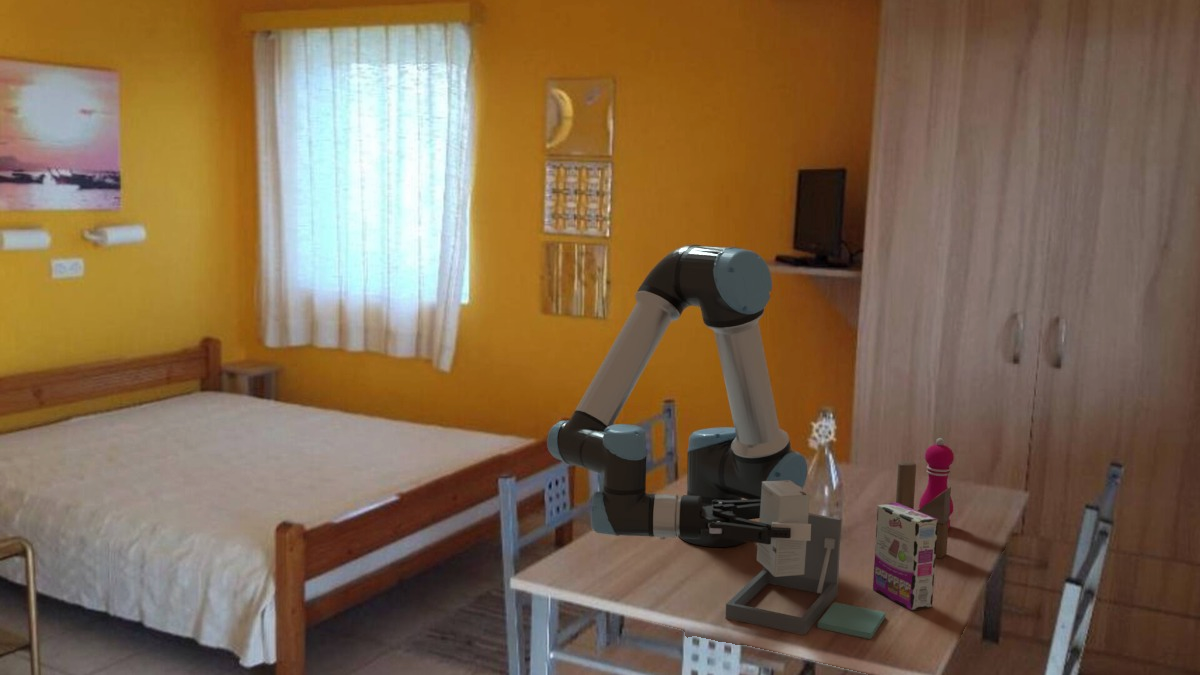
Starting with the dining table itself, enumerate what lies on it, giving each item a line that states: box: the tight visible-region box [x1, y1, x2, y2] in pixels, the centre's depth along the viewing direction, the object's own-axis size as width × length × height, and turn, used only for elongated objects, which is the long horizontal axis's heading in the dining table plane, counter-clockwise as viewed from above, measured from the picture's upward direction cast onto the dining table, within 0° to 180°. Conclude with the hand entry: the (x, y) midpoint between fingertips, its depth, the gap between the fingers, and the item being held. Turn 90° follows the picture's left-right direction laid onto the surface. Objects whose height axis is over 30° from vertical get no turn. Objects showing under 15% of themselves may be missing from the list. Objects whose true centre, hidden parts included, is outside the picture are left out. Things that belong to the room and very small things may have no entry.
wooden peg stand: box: [895, 460, 952, 559], centre depth 216 cm, size 4×11×18 cm, turn 53°
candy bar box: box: [872, 502, 938, 611], centre depth 190 cm, size 11×5×16 cm, turn 24°
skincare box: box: [756, 480, 811, 577], centre depth 183 cm, size 8×6×15 cm
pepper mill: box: [918, 437, 955, 530], centre depth 231 cm, size 7×7×20 cm
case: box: [725, 513, 842, 636], centre depth 186 cm, size 14×20×14 cm
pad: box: [817, 601, 886, 640], centre depth 180 cm, size 9×10×1 cm
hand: (809, 522), depth 182 cm, fingers closed on skincare box, 9 cm apart
